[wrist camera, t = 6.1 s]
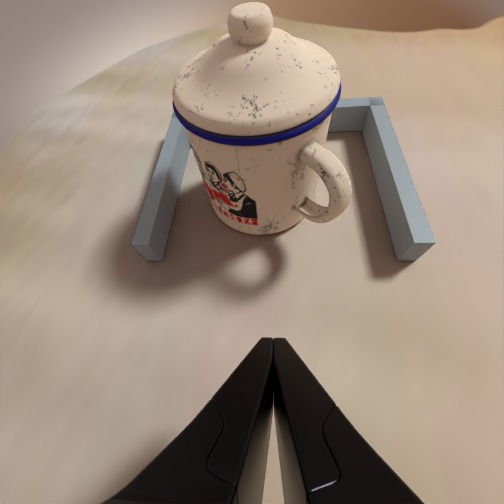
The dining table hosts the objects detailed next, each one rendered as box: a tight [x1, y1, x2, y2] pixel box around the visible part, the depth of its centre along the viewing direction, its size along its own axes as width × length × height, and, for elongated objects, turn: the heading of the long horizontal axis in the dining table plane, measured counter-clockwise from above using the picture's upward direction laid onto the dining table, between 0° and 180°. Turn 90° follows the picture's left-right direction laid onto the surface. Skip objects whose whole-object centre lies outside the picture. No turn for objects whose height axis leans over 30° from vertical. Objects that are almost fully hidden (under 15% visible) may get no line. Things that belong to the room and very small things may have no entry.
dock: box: [131, 97, 436, 261], centre depth 20 cm, size 15×19×2 cm
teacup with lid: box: [172, 2, 352, 235], centre depth 15 cm, size 12×9×12 cm
